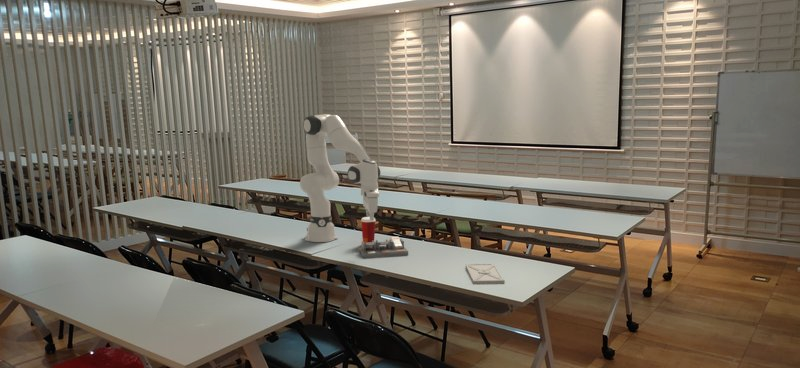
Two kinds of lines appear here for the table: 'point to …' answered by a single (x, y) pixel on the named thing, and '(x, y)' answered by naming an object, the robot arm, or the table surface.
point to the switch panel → (382, 250)
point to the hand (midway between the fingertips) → (370, 218)
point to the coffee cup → (368, 229)
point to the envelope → (484, 273)
